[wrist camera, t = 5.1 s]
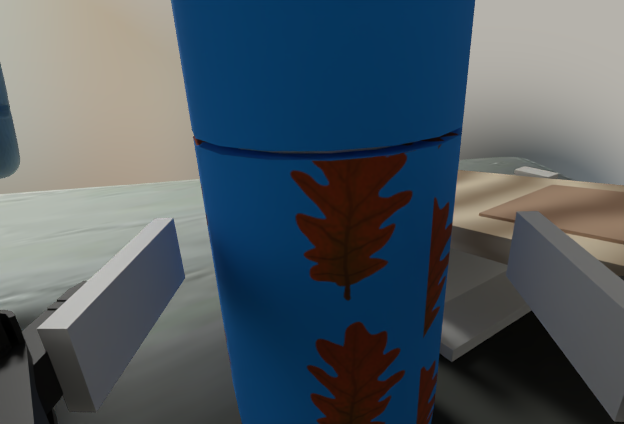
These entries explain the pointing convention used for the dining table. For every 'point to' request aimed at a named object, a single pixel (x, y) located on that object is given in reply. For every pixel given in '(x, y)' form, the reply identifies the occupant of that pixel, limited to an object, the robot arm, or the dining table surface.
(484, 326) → the fulcrum
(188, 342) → the dining table surface
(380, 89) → the thermos
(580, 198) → the beam
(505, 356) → the dining table surface
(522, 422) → the dining table surface
